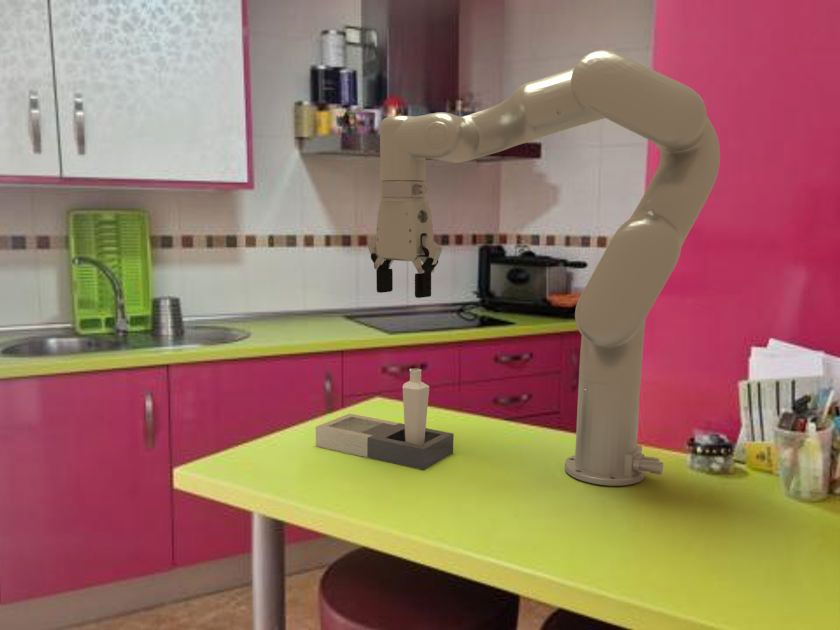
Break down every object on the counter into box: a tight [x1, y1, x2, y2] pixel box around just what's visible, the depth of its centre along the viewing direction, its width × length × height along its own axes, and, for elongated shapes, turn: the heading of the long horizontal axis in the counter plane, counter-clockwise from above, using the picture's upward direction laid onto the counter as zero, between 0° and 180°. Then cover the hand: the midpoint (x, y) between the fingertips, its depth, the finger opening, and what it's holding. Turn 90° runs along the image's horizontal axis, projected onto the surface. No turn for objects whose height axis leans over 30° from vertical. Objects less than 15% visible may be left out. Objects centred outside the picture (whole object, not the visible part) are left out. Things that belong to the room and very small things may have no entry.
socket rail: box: [315, 413, 455, 471], centre depth 134 cm, size 22×10×4 cm, turn 59°
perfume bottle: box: [402, 368, 430, 445], centre depth 130 cm, size 5×4×15 cm
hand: (403, 294), depth 131 cm, fingers open, 9 cm apart
